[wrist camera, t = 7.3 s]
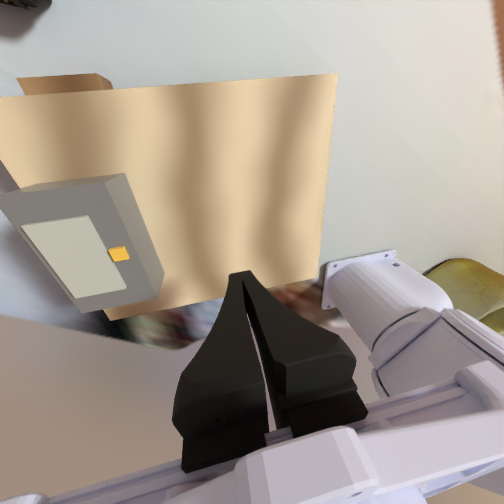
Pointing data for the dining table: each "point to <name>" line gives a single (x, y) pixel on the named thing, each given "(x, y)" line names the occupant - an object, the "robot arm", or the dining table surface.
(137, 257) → the block
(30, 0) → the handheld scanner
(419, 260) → the dining table surface
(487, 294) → the mug
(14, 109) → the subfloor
